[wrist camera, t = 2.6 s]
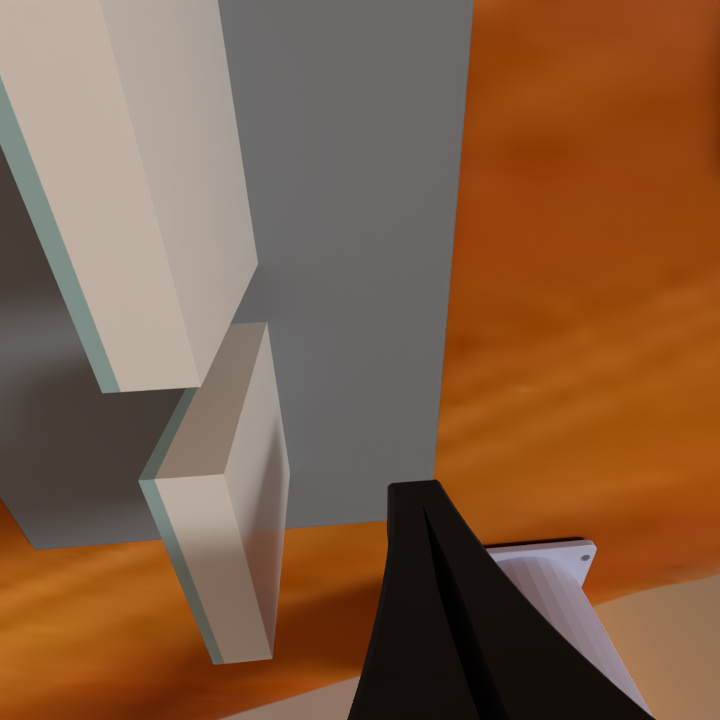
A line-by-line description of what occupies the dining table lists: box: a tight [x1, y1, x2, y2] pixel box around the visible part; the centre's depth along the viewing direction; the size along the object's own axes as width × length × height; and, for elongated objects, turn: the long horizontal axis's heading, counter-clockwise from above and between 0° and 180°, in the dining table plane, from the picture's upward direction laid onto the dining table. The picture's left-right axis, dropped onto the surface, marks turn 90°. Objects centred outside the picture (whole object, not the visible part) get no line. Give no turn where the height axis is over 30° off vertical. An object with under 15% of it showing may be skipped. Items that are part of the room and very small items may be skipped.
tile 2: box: [0, 0, 258, 393], centre depth 8 cm, size 7×2×7 cm, turn 2°
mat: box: [0, 0, 474, 550], centre depth 13 cm, size 23×18×1 cm
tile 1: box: [138, 322, 290, 665], centre depth 13 cm, size 7×2×7 cm, turn 2°
